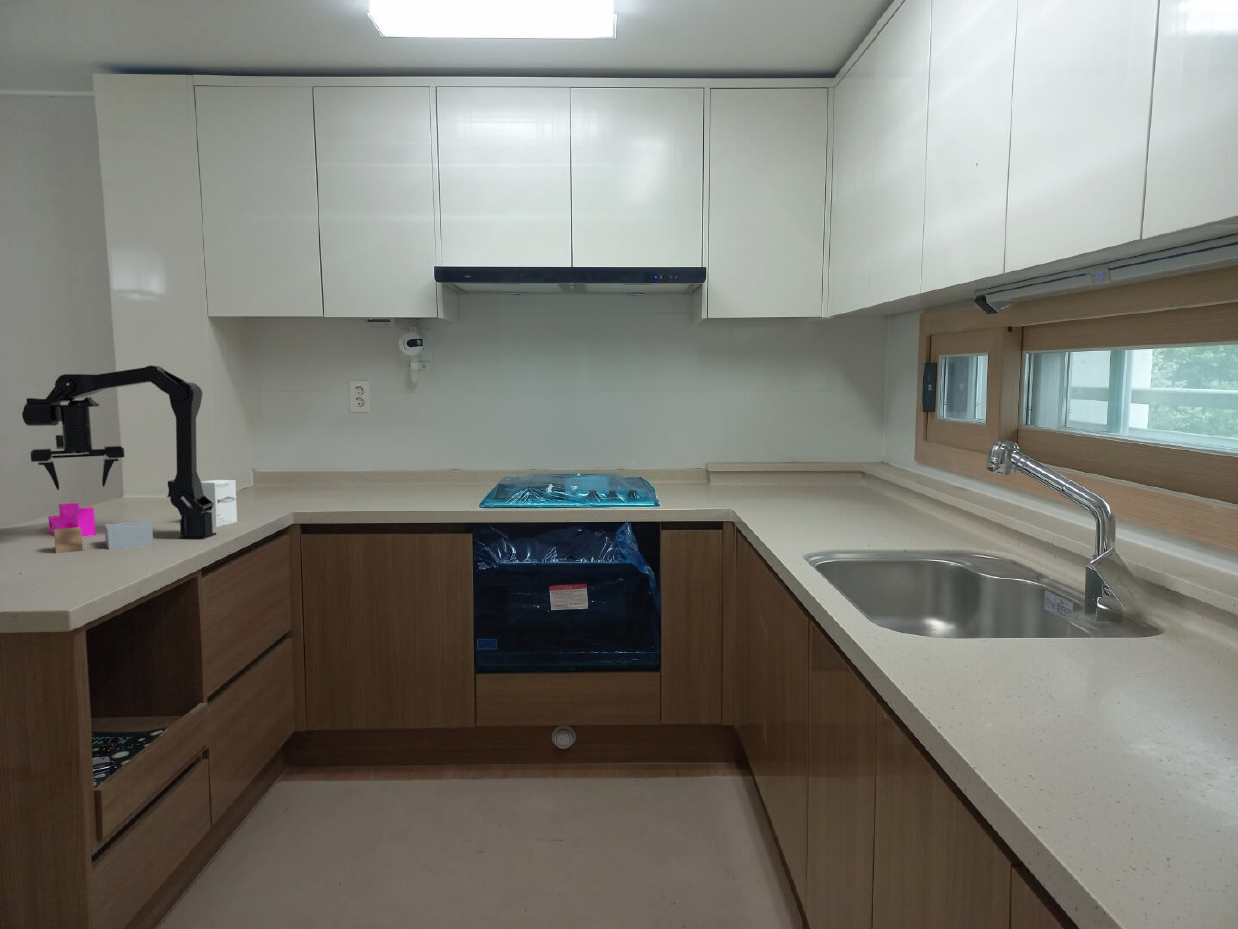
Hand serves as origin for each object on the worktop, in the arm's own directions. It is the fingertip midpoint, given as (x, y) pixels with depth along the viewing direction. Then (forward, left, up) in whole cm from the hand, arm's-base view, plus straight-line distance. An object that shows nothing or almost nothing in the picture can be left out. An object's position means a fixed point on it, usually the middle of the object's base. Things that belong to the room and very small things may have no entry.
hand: (81, 488), depth 188 cm
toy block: (+11, -9, -14) cm, 20 cm away
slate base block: (-14, +3, -14) cm, 20 cm away
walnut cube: (-5, +11, -14) cm, 18 cm away
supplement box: (-20, -24, -14) cm, 34 cm away
